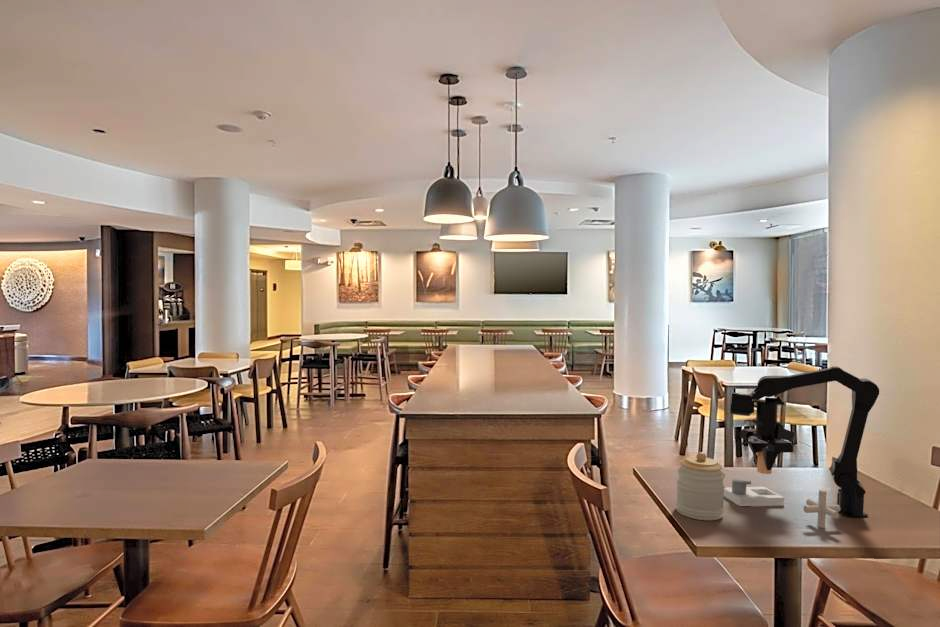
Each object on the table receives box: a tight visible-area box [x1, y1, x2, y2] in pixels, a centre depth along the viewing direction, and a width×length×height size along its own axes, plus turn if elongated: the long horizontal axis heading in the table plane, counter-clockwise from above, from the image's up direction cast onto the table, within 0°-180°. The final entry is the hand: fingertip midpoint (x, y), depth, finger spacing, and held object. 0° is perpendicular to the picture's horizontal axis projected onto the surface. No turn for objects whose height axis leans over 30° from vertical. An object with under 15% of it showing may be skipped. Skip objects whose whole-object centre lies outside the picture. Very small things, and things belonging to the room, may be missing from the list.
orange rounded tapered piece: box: [756, 451, 772, 475], centre depth 185 cm, size 4×5×6 cm
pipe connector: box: [802, 489, 841, 529], centre depth 165 cm, size 10×10×10 cm
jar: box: [675, 451, 726, 521], centre depth 173 cm, size 13×13×18 cm
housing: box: [724, 478, 785, 507], centre depth 185 cm, size 10×14×6 cm
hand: (764, 468), depth 185 cm, fingers closed on orange rounded tapered piece, 4 cm apart
